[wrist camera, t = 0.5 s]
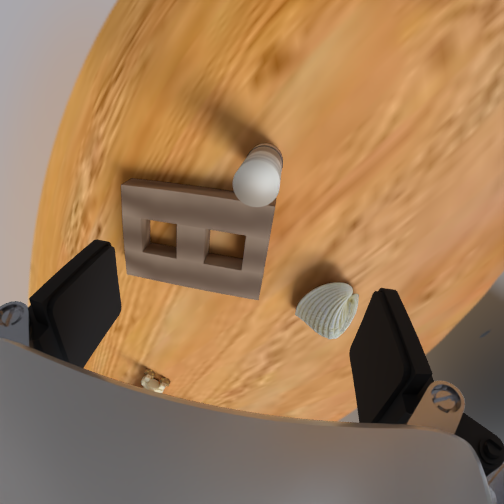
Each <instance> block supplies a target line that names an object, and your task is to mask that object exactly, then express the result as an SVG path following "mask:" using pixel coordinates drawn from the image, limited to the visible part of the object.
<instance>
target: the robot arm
mask: <svg viewBox="0 0 504 504" xmlns="http://www.w3.org/2000/svg"><path fill="white" fill-rule="evenodd" d="M29 300H30V303H31V305H30V306H29V307H27V306H26V305H25V304H24V303H22V302H17V301H15V302H9V303H6V304H4V305H2V306H0V504H504V445H503V443H502V441H501V440H500V439H499V438H498V437H497V436H496V435H495V434H493V433H492V432H490V431H489V430H487V429H486V428H485V427H483V426H482V425H480V424H479V423H477V422H476V421H475V420H473V419H472V418H470V417H468V415H466V414H465V413H463V411H464V407H465V400H464V397H463V395H462V393H461V392H460V391H459V389H458V388H456V387H455V386H454V385H453V384H451V383H448V382H446V381H435V382H434V380H433V378H432V371H431V369H430V366H429V364H428V361H427V359H426V356H425V354H424V351H423V349H422V346H421V344H420V341H419V339H418V337H417V334H416V332H415V330H414V327H413V325H412V323H411V321H410V318H409V316H408V314H407V312H406V310H405V307H404V305H403V303H402V301H401V299H400V297H399V295H398V293H397V291H396V290H392V289H385V288H380V289H379V291H375V292H374V293H373V295H372V298H371V300H370V303H369V305H368V308H367V310H366V313H365V315H364V318H363V320H362V322H361V325H360V327H359V329H358V332H357V334H356V336H355V339H354V341H353V343H352V345H351V348H350V362H351V368H352V374H353V380H354V387H355V393H356V400H357V408H358V415H359V423H352V422H336V421H322V420H309V419H299V418H290V417H281V416H273V415H266V414H259V413H253V412H246V411H240V410H235V409H229V408H224V407H218V406H213V405H209V404H204V403H199V402H195V401H190V400H186V399H182V398H178V397H174V396H170V395H166V394H162V393H158V392H155V391H151V390H148V389H144V388H141V387H137V386H134V385H131V384H128V383H124V382H121V381H118V380H115V379H112V378H109V377H106V376H103V375H100V374H97V373H95V372H92V371H89V370H86V369H84V366H85V365H86V363H87V361H88V360H89V358H90V357H91V355H92V354H93V352H94V351H95V349H96V348H97V346H98V345H99V343H100V342H101V340H102V339H103V337H104V336H105V334H106V333H107V332H108V330H109V329H110V327H111V326H112V324H113V323H114V321H115V320H116V319H117V317H118V316H119V314H120V312H121V299H120V292H119V284H118V276H117V267H116V257H115V249H114V247H112V246H111V243H110V242H107V241H102V240H94V241H93V242H91V243H90V244H89V245H88V246H87V247H85V248H84V249H83V250H82V251H81V252H80V253H78V254H77V255H76V256H75V257H74V258H73V259H72V260H70V261H69V262H68V263H67V264H66V265H65V266H64V267H62V268H61V269H60V270H59V271H58V272H57V273H56V274H55V275H54V276H53V277H51V278H50V279H49V280H48V281H47V282H46V283H45V284H44V285H43V286H42V287H41V288H40V289H39V290H38V291H37V292H36V293H34V294H33V295H32V296H31V297H30V298H29Z"/></svg>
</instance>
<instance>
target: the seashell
mask: <svg viewBox="0 0 504 504" xmlns="http://www.w3.org/2000/svg"><path fill="white" fill-rule="evenodd" d="M352 293H353V289H352V287H351V286H350V285H349V284H346V283H341V282H334V283H328V284H324V285H322V286H319V287H317V288H315V289H313V290H312V291H310V292H309V293H307V294H306V295H305V296H304V297H303V298H302V299H301V300H300V302H299V303H298V305H297V308H296V312H295V315H296V316H298V317H299V318H300V319H302V320H303V321H304V322H305V323H306V324H307V325H309V326H310V327H311V328H312V329H313V330H314V331H315V332H317V333H318V334H320V335H321V336H323V337H326V338H328V339H336V338H337V337H339V336H340V335H341V334H342V333H344V331H345V330H346V329H347V328H348V326H349V325H350V323H351V321H352V320H353V318H354V315H355V313H356V311H357V307H358V297H359V295H358V294H352Z"/></svg>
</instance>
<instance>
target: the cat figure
mask: <svg viewBox="0 0 504 504" xmlns="http://www.w3.org/2000/svg"><path fill="white" fill-rule="evenodd" d="M144 374H145V375H146V376H144V377H143V378H142V381H141V383H142V384H141V385H143V386H144V387H143V388H144V389H148V390H151V391H155V392H158V393H162V392H163V391H164V388H165V387H166V386H169V384H170V381H169V380H168V379H167V378H165V377H164V378H163V377H161V379H160V381H159V382H160V384H159V382H158V381H157V380H155V379H153V378H154V376H155V373H154V372H153V371H152V370H150V369H149V370H148V369H146V371H145V373H144ZM151 378H152V379H151Z"/></svg>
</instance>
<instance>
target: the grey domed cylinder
mask: <svg viewBox="0 0 504 504" xmlns="http://www.w3.org/2000/svg"><path fill="white" fill-rule="evenodd" d="M282 167H283V157H282V154H281V152H280V150H279V149H278V148H277V147H276V146H274V145H272V144H269V143H262V144H259V145H257V146H255V147H254V148H253V149H252V150H251V151H250V152H249V154H248V156H247V158H246V159H245V160H244V162H243V163H242V165H241V166H240V168H239V169H238V171H237V172H236V174H235V176H234V178H233V190H234V193H235V195H236V196H237V198H238V199H239V200H240V201H241V202H242V203H244V204H246V205H248V206H251V207H263V206H266V205H268V204H270V203H271V202H272V201H273V200H274V199H275V198H276V196H277V195H278V192H279V187H280V179H281V171H282Z"/></svg>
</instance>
